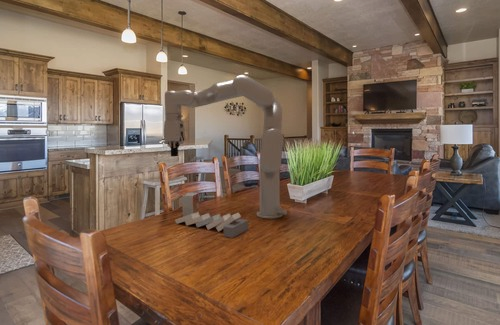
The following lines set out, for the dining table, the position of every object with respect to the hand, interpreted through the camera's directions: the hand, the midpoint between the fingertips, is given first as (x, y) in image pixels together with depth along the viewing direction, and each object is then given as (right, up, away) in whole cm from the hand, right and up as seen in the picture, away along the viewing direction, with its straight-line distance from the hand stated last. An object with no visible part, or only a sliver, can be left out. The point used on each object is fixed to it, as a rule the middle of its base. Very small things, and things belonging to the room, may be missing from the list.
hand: (174, 156), depth 149 cm
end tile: (+4, -29, -9) cm, 31 cm away
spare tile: (+15, -30, -15) cm, 36 cm away
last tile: (+24, -30, -20) cm, 44 cm away
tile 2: (+10, -30, -12) cm, 33 cm away
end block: (+31, -31, -24) cm, 50 cm away
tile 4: (+20, -30, -18) cm, 40 cm away
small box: (+7, -29, +3) cm, 30 cm away
